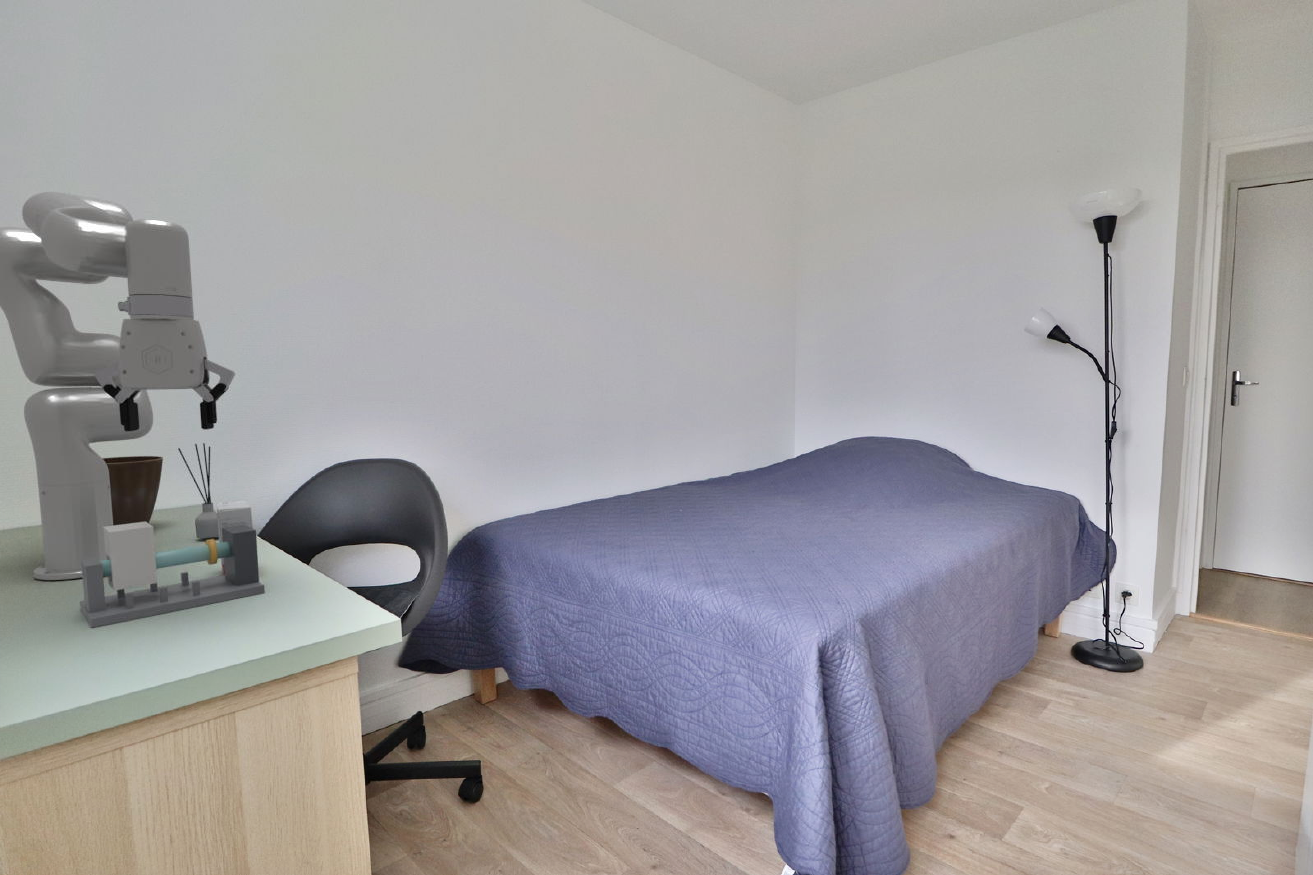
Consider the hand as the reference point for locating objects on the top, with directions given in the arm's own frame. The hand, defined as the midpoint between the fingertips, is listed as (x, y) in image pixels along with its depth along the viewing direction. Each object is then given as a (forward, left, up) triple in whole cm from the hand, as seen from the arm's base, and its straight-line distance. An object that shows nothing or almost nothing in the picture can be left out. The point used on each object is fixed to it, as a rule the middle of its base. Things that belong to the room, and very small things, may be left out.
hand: (170, 429), depth 103 cm
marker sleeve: (-1, -6, -22) cm, 23 cm away
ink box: (-11, +10, -26) cm, 30 cm away
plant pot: (-66, +3, -26) cm, 71 cm away
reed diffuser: (-45, +13, -26) cm, 54 cm away
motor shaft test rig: (-1, -1, -26) cm, 26 cm away
